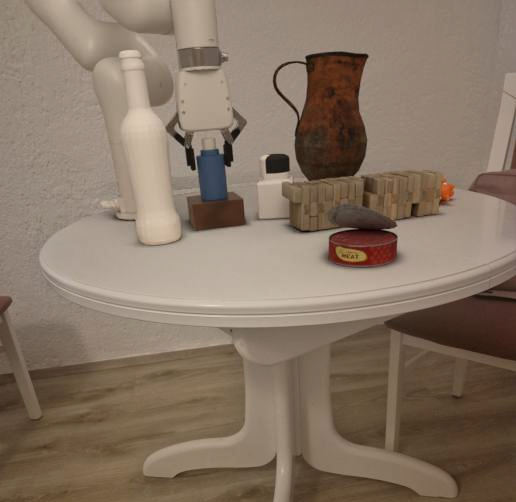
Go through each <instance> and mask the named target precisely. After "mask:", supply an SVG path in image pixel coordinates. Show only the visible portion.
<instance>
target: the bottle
mask: <svg viewBox="0 0 516 502" xmlns="http://www.w3.org/2000/svg"><path fill="white" fill-rule="evenodd" d="M141 58H142V56H141V53H140V52H139V51H137V50H126V51H121V52H120V53H119V59H120V62H121V71H122V73H123V80H124V87H125V93H126V100H127V107H128V111H127V114H126V116H125V118H124V120H123V122H122V125H121V128H120V142H121V146H122V151H123V155H124V159H125V163H126V167H127V172H128V176H129V180H130V184H131V188H132V193H133V197H134V201H135V206H136V220H134V227H135V232H136V235H137V238H138V240H139V242H140V243H141V244H142V245H147V246H160V245H161V246H163V245H167V244H172V243H175V242H177V241H178V240H180V238H181V236H182V223H181V218H180V215H179V213H178V211H177V210H176V206H175V200H174V190H173V189H174V188H173V178H172V165H171V154H170V143H169V134H168V133H167V131H166V128H165V126H166V125H165V124H164V123H163V121H162V119H160V117H159V116H158V115H157V114H156V113H155V112H154V110H153V109H152V107H151V106H150V100H149V94H148V89H147V83H146V77H145V65H144V64H143V62H142V60H141Z"/></svg>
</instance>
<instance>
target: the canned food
mask: <svg viewBox="0 0 516 502" xmlns="http://www.w3.org/2000/svg"><path fill="white" fill-rule="evenodd" d="M327 218H328V220H329V221H330V223H332V224H334V225H337V226H339V227H340V226H341V227H342V228H347V229H344V230H339V231H337V232H333V233H332V234H330V235H329V236H328V259H329V261H331V262H332V263H334V264H335V265H338V266H344V267H350V268H352V267H353V268H372V267H379V266H385V265H387V264H390V263H393V262H394V261H395V260H396V259H397V251H398V240H399V239H398V238H399V235H398V234H397V233H395V232H393V231H390V230H391V229H395V228H397V227H398V224H397V221H395V220H391V219H390V218H389V217H387V216H385V215H382V214H380V213H378V212H377V211H374V210H371V209H368V208H365V207H363V206H360V205H356V204H350V203H343V204H341V205H334V206H333V207H332V208H331V209H330V210H329V213H328V216H327ZM348 228H349V229H348Z"/></svg>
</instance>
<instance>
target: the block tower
mask: <svg viewBox="0 0 516 502" xmlns="http://www.w3.org/2000/svg"><path fill="white" fill-rule="evenodd" d="M443 178H444V172H442V171H437V170H436V171H434V170H430V169H423V170H420V169H414V168H412V169H404V170H395V171H393V170H392V171H384V172H380V173H379V172H377V173H368V174H361V175H360V177H358V176H356V175H354V176H347V177H340V178H326V179H319V180H318V181H317V180H314V181H309V180H306V181H298V182H294V183H290V182H288V181H286V182H282V196H284V197H285V198H287V199H289V209H290V218H289V225H290V226H292V227H295V228H296V229H298V230H300V231H310V232H313V231H314V232H315V231H317V230H318V231H320V230H327V229H332V228H339V227H341V226H337V225H334V224H332V223H330V221H329V220H328V218H327V216H328V213H329V210H330V209H331V208H332V207H333V206H334V205H341V204H343V203H350V204H356V205H360V206H363V207H365V208H368V209H371V210H374V211H377V212H378V213H380V214H382V215H385V216H387V217H389V218H390V219H391V220H393V221H395V220H402V219H404V218H411V215H412V216H415V217H424V216H430V215H438V214H439V208H440V207H439V206H440V201H441V200H440V193H441V186H442V179H443Z"/></svg>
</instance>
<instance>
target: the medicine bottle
mask: <svg viewBox="0 0 516 502" xmlns="http://www.w3.org/2000/svg"><path fill="white" fill-rule="evenodd" d="M258 161H259V175H260V178H259V180H258V182H257V183H256V196H257V197H256V198H257V212H258V219H259V220H277V219H278V220H279V219H290V209H289V199H287V198H285V197H284V196H282V182H286V181H288V182H290V183H295V181H294V176H290V175H291V165H290V162H291V161H290V156H289V155H288V154H286V153H269V154H264V155H262V156H260V158H259V159H258Z"/></svg>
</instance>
